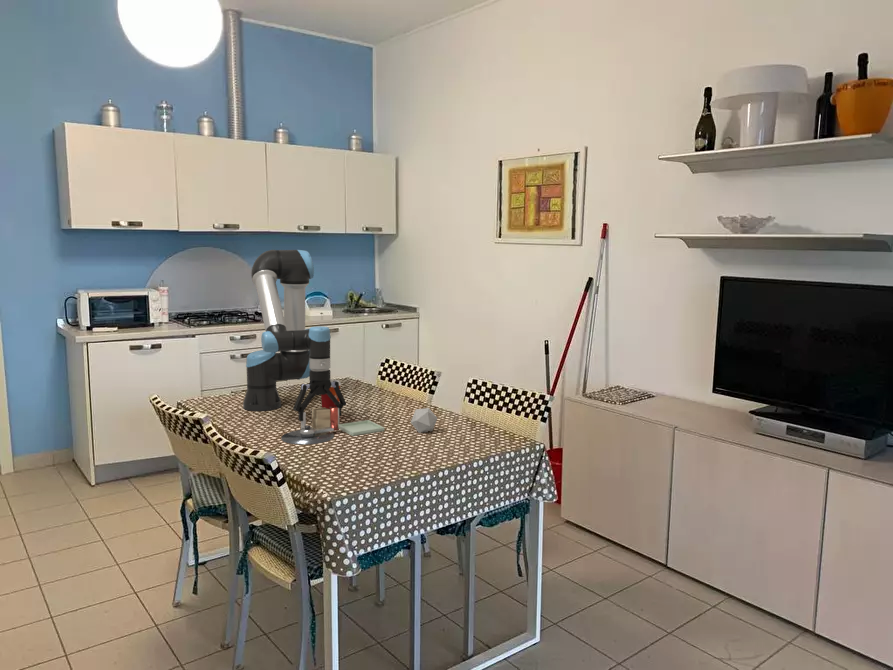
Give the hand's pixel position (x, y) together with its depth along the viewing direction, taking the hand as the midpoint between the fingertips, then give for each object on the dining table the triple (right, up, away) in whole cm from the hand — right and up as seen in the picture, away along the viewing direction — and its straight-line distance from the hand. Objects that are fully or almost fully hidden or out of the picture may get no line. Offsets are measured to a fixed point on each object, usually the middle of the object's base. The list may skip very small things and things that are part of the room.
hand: (320, 427), depth 247 cm
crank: (+1, -1, -9) cm, 9 cm away
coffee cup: (+1, +1, +14) cm, 14 cm away
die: (+38, -1, -2) cm, 38 cm away
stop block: (0, 0, 0) cm, 0 cm away
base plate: (-2, -2, -11) cm, 12 cm away
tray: (+15, -1, -1) cm, 15 cm away
